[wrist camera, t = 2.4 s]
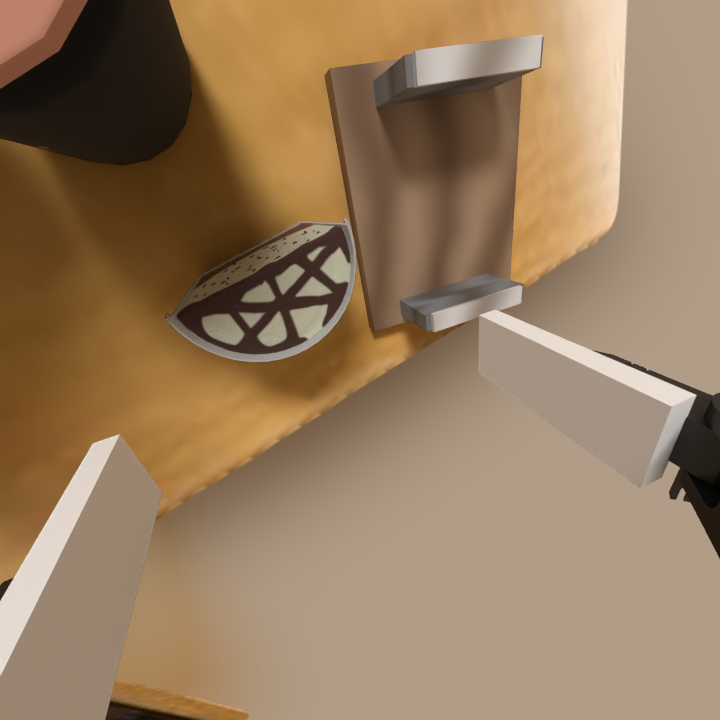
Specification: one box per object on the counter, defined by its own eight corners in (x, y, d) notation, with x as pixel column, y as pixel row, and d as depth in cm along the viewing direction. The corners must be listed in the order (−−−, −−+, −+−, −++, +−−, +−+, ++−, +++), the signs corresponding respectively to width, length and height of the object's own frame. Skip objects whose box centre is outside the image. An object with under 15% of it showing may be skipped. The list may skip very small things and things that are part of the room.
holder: (369, 326, 33) (398, 354, 27) (324, 75, 23) (355, 34, 17) (499, 285, 36) (550, 302, 31) (509, 50, 26) (588, 8, 21)
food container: (229, 344, 29) (227, 404, 21) (182, 284, 26) (158, 326, 17) (347, 278, 30) (391, 309, 22) (317, 212, 27) (356, 219, 18)
